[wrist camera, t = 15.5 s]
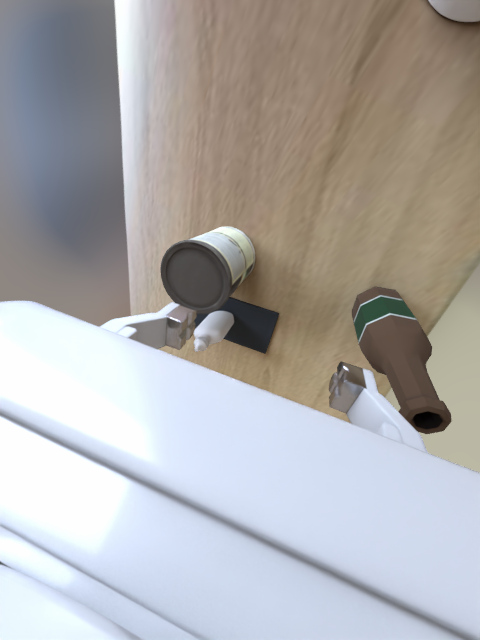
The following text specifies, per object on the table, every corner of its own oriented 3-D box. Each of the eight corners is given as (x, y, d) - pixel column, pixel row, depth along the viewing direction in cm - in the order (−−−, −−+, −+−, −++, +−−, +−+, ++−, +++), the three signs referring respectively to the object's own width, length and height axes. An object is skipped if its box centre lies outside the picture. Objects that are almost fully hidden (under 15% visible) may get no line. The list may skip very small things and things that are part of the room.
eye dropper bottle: (230, 331, 51) (207, 366, 41) (207, 319, 52) (179, 351, 42) (237, 315, 49) (214, 348, 39) (212, 303, 49) (184, 332, 39)
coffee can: (251, 287, 46) (226, 322, 34) (202, 276, 48) (162, 305, 36) (260, 231, 41) (234, 248, 29) (204, 221, 43) (157, 233, 31)
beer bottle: (348, 289, 41) (373, 387, 20) (402, 280, 38) (494, 385, 17) (353, 329, 44) (378, 449, 23) (403, 324, 41) (482, 457, 20)
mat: (177, 279, 50) (176, 280, 49) (279, 313, 47) (278, 314, 46) (174, 319, 55) (173, 320, 55) (265, 352, 52) (265, 353, 51)
